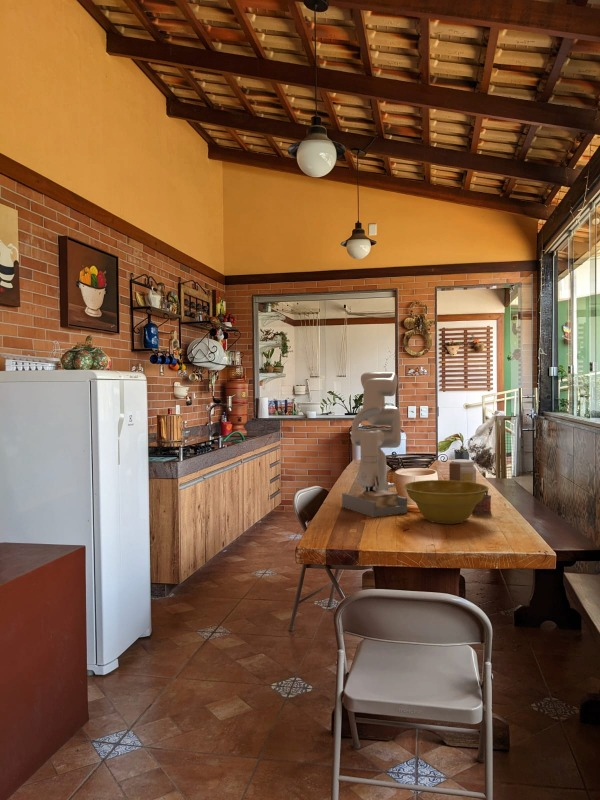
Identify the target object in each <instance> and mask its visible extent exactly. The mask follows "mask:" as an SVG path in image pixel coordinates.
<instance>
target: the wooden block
mask: <svg viewBox="0 0 600 800" xmlns="http://www.w3.org/2000/svg"><path fill="white" fill-rule="evenodd" d="M448 465H449V475H448V476H449V477H448V478H449V479H448V480H453V481H461V464H460V463H451V462H450V463H449V464H448Z"/></svg>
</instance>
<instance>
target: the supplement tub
mask: <svg viewBox="0 0 600 800" xmlns="http://www.w3.org/2000/svg"><path fill="white" fill-rule="evenodd" d="M450 463H460V464H461V481H465V482H473V483H477V468H476V467H475V466H474V465H475V461H474V460H473V459H466V458H464V459H463V458H462V459H461V458H458V459H451V462H450Z"/></svg>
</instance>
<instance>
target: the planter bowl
mask: <svg viewBox="0 0 600 800" xmlns="http://www.w3.org/2000/svg"><path fill="white" fill-rule="evenodd" d="M403 489H405V490H406V494H407V495H408V497H409V499H410V500H412V501H413V502H414V503H415V504H416V506H417V509H418V510H419V512H420V514H421V515H422V517H423V518H424V519H426V520H427V521H429V522H431V523H436V524H445V525H446V524H449V525H451V524H460V523H463V522H465V521H466V520H468V519H469V518H470V517H471V515H472V514H473V513H472V511H473V510H474V508H475V505H476V504H477V503H478V502H480V501H481V500H482V499H483V497H484V495H486V493H485V492H486V491H487V490H488V491H489V486H487V485H485V484H482V483H479V482H478V483H477V482H476V483H473V482H465V481H453V480H449V479H447V480H446V479H430V480H429V479H426V480H417V481H411V482H407V483H405V484H404V485H403Z"/></svg>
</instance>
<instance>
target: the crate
mask: <svg viewBox="0 0 600 800" xmlns="http://www.w3.org/2000/svg"><path fill="white" fill-rule="evenodd" d="M362 496H363V497H362V498H363V499H367V500H370V501H373V502H376V509H379V508H386V507H394V506H398V496H399V493H398V492H395V491H391V490H390V491H387V490H378V491H370V492H364V491H363V492H362Z"/></svg>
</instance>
